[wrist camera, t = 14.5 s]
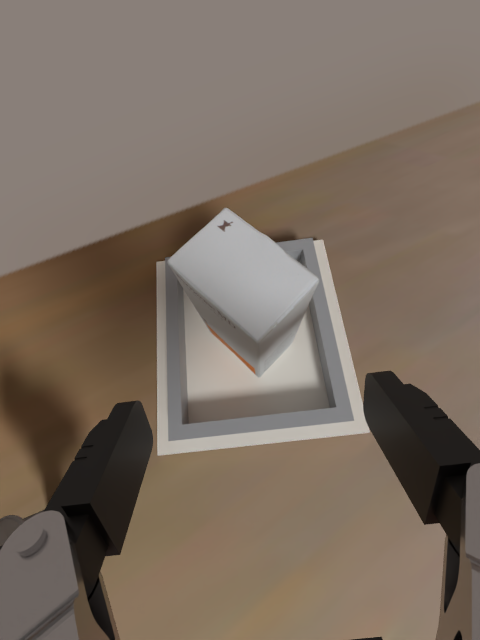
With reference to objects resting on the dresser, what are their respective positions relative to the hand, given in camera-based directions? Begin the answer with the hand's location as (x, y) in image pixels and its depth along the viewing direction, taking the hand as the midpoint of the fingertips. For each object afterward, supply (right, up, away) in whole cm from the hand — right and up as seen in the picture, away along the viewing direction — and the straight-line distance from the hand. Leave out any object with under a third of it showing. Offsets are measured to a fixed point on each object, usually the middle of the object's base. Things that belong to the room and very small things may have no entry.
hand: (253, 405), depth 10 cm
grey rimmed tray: (0, +1, +15) cm, 15 cm away
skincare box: (0, +1, +14) cm, 14 cm away
